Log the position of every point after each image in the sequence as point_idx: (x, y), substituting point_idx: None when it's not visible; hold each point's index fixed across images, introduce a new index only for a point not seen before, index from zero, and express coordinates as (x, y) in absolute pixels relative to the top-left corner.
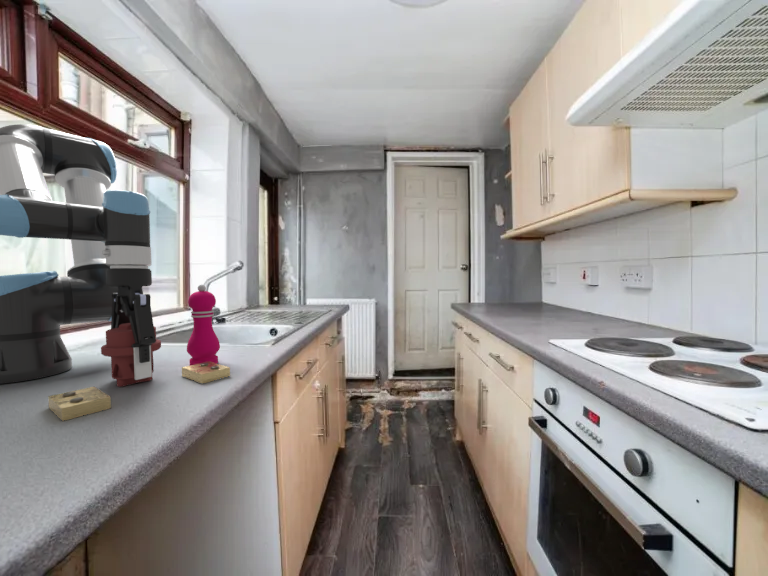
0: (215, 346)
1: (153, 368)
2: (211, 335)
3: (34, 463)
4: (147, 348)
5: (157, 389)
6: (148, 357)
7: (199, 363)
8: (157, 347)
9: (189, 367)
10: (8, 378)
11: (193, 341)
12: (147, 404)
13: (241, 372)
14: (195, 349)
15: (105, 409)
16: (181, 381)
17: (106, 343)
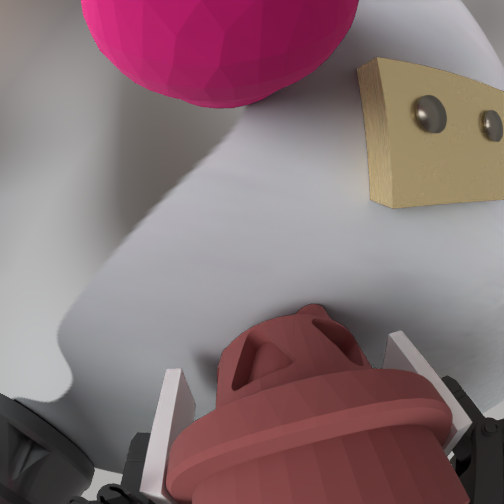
0: None
1: (312, 321)
2: None
3: (492, 401)
4: (478, 417)
5: (435, 304)
6: (458, 389)
7: (387, 110)
8: (434, 388)
9: (423, 183)
10: (92, 475)
11: (299, 38)
12: (487, 328)
13: (464, 44)
14: (316, 65)
15: None
16: (428, 226)
17: None
